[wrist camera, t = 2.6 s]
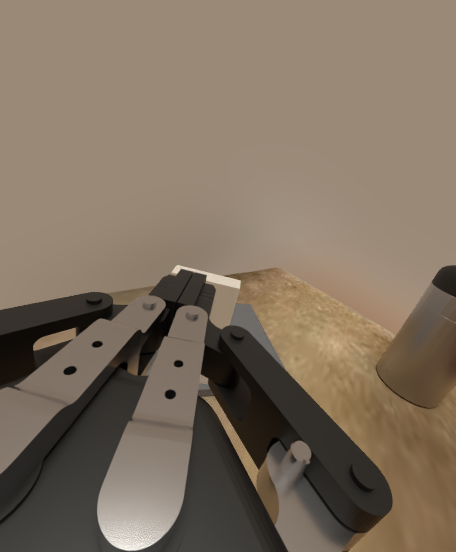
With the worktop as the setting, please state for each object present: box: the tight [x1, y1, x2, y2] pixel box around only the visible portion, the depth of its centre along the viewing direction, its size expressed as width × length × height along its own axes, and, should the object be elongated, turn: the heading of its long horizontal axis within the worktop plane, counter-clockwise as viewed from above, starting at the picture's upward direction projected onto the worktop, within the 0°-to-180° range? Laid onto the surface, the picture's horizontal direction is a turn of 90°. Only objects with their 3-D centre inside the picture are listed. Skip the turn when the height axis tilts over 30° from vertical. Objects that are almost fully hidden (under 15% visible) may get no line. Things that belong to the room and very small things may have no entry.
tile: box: [171, 265, 240, 385], centre depth 27 cm, size 2×7×14 cm, turn 85°
